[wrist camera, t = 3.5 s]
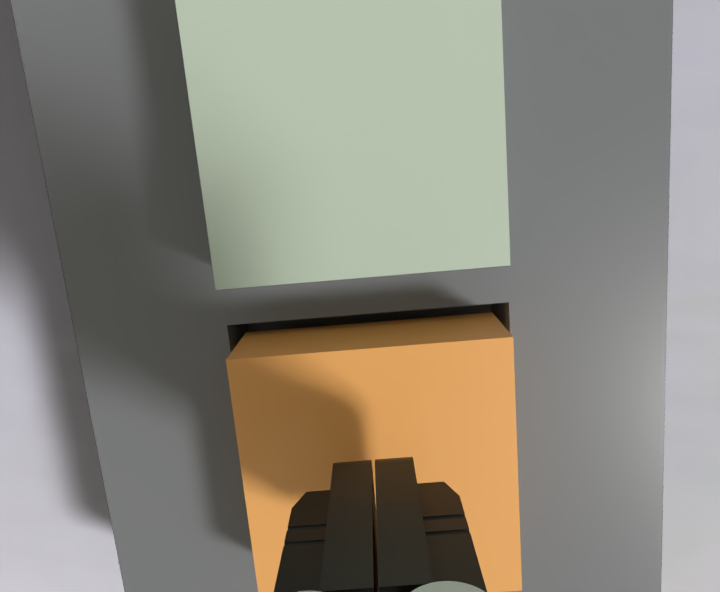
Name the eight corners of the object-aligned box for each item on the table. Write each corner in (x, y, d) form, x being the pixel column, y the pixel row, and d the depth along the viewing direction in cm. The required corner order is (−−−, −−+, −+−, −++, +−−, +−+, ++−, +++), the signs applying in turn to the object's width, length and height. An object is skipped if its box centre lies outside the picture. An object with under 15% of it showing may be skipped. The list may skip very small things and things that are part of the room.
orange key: (246, 332, 14) (225, 359, 12) (492, 312, 14) (513, 337, 12) (274, 549, 15) (260, 608, 13) (501, 534, 15) (522, 590, 13)
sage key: (202, 1, 12) (170, -30, 10) (477, -26, 12) (498, -63, 10) (237, 272, 13) (215, 289, 11) (489, 251, 13) (510, 265, 11)
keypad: (9, -380, 13) (-94, -538, 10) (612, -452, 13) (686, -638, 10) (170, 554, 18) (132, 630, 15) (611, 523, 18) (661, 596, 15)
